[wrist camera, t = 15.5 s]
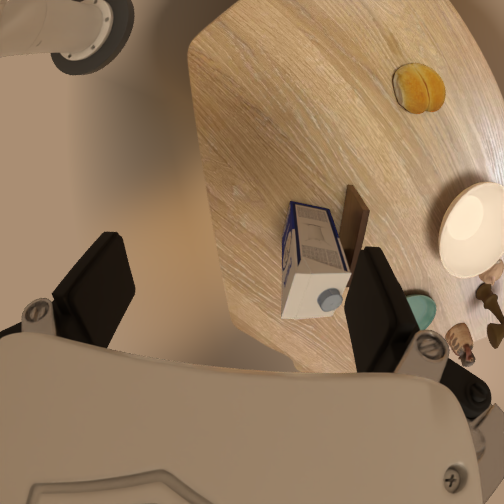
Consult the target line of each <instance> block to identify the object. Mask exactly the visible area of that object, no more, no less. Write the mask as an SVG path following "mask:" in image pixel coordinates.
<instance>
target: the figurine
mask: <svg viewBox="0 0 504 504" xmlns="http://www.w3.org/2000/svg"><path fill="white" fill-rule="evenodd" d="M446 340H447V342H448V344H449V345H450V347H451V349H452V350H453V352H454V353H455V354H456V355H457V356H460V357H459V359H461V362H462V365H463V366H466V367H467V366H468V367H469V366H471V365H473V363H474V362H475V357H474V355H473V353H472V352H471V350H472V348H473V340H472V337H471V334H470V331H469V329H468V327H467V326H466V324H464V323H460V324H457V325H455V326H454V327H452V328H451V329H450V330H449V331H448V333H447V334H446Z"/></svg>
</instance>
